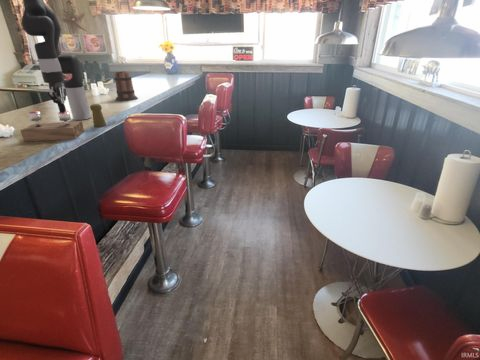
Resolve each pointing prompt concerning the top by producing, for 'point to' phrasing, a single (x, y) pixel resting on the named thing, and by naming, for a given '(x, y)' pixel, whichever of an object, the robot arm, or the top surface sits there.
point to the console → (52, 131)
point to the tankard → (124, 87)
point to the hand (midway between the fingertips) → (63, 111)
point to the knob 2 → (64, 117)
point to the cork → (97, 115)
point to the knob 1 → (35, 117)
